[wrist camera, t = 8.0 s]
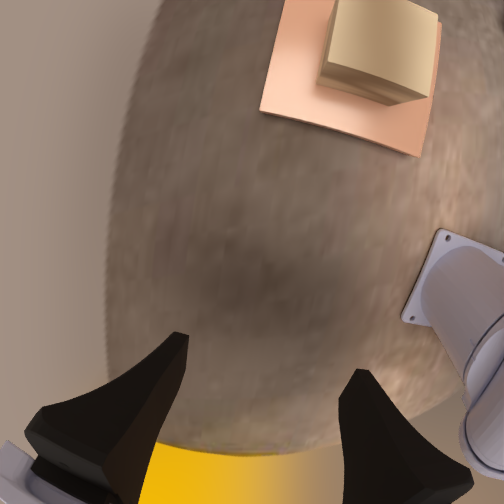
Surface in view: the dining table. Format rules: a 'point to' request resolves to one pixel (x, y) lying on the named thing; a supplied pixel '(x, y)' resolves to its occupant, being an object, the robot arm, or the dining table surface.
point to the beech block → (379, 50)
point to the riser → (331, 100)
